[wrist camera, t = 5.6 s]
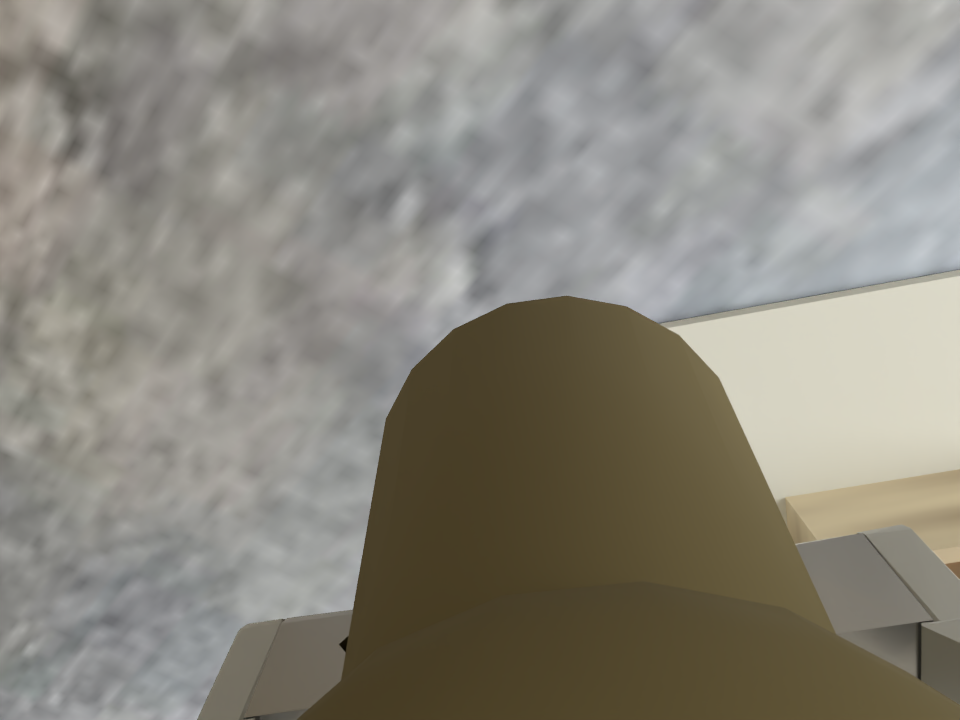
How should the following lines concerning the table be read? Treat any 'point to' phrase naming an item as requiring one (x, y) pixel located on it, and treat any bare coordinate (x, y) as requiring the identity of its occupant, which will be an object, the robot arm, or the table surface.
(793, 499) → the bottom block
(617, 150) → the table surface
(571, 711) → the olive rounded upright piece
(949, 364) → the felt mat
